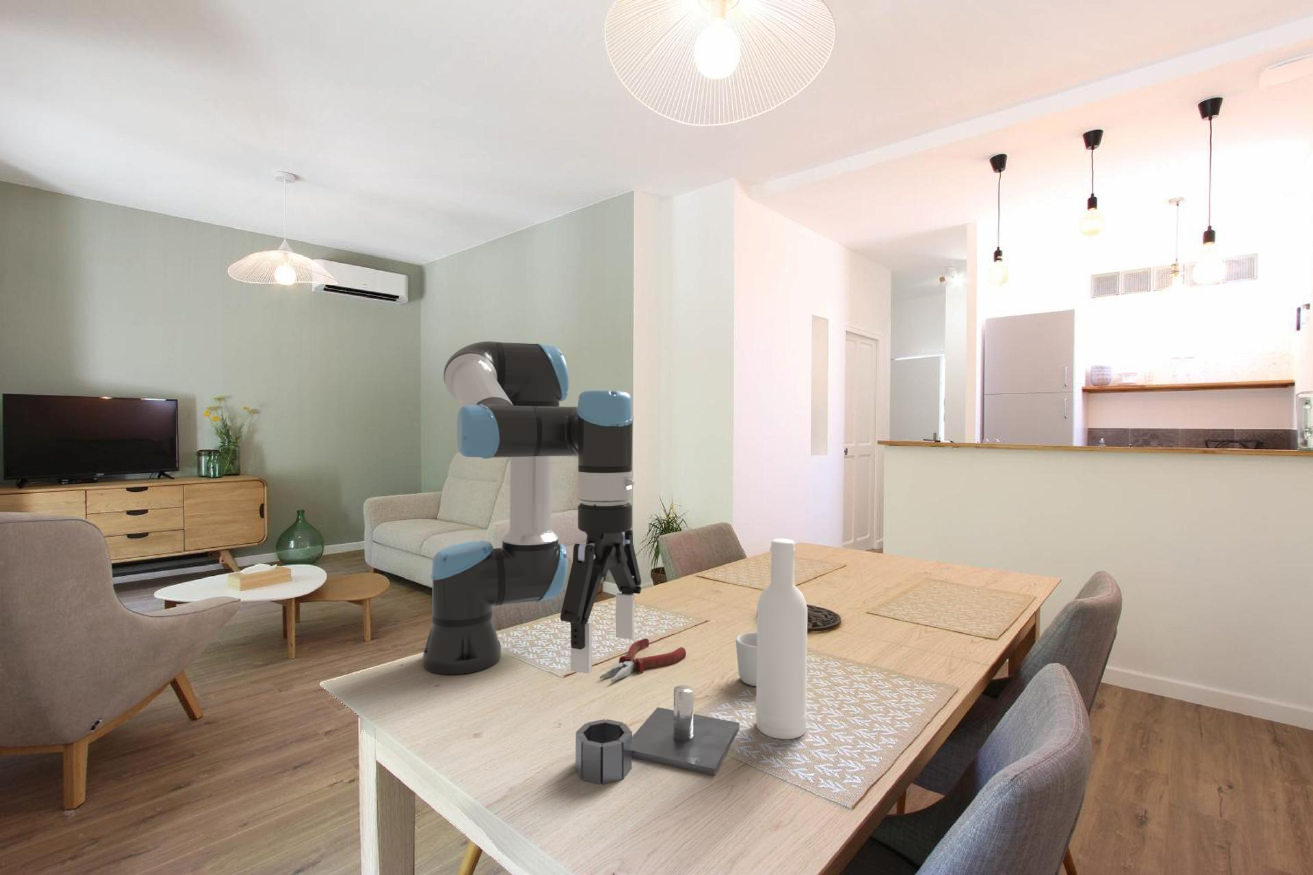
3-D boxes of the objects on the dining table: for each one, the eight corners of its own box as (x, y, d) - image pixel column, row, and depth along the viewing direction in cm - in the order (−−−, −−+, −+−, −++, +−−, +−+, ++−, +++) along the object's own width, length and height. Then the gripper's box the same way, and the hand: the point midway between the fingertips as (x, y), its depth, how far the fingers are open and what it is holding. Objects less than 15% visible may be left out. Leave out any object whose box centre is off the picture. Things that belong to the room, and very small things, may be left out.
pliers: (582, 678, 118) (582, 664, 118) (643, 647, 134) (643, 635, 134) (630, 693, 111) (630, 679, 111) (688, 659, 128) (688, 646, 128)
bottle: (816, 736, 96) (818, 544, 95) (770, 743, 93) (772, 546, 93) (790, 712, 103) (792, 535, 103) (747, 719, 101) (749, 537, 100)
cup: (796, 678, 117) (796, 636, 117) (790, 695, 110) (791, 651, 110) (740, 670, 121) (740, 629, 121) (731, 686, 113) (731, 643, 113)
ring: (567, 775, 85) (567, 739, 84) (592, 749, 91) (592, 716, 91) (616, 787, 82) (616, 750, 82) (638, 759, 89) (638, 725, 89)
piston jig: (622, 754, 90) (622, 700, 90) (657, 712, 103) (657, 665, 103) (714, 775, 85) (715, 718, 85) (739, 728, 98) (739, 679, 98)
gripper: (586, 515, 73) (586, 693, 73) (662, 493, 96) (661, 629, 96) (532, 512, 75) (532, 683, 76) (618, 491, 99) (618, 623, 99)
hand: (604, 653), depth 86 cm, fingers open, 13 cm apart
